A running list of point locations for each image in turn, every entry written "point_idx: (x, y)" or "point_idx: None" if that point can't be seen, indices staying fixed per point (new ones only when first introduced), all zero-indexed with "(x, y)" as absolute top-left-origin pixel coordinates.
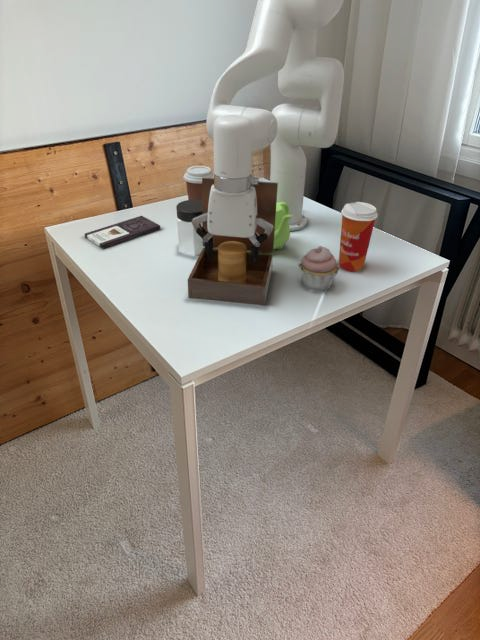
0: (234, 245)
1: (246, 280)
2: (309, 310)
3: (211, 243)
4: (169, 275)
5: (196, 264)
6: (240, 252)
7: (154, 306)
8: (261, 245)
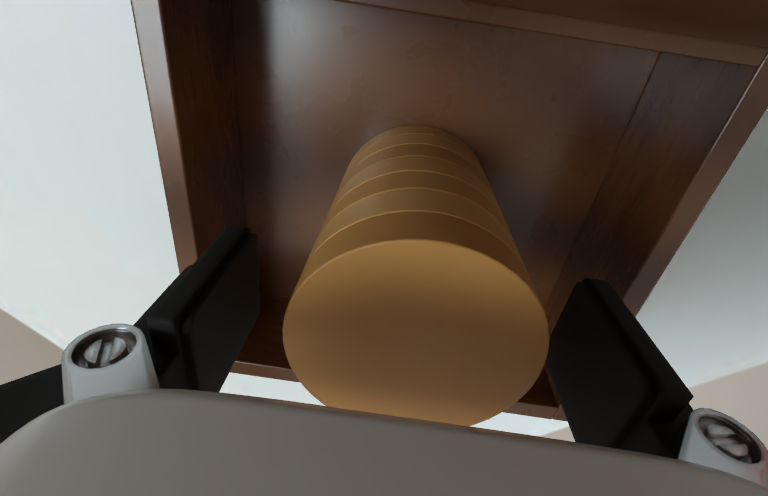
0: (433, 327)
1: (494, 165)
2: (715, 348)
3: (210, 361)
4: (61, 83)
5: (182, 234)
6: (478, 419)
7: (136, 321)
8: (756, 36)
